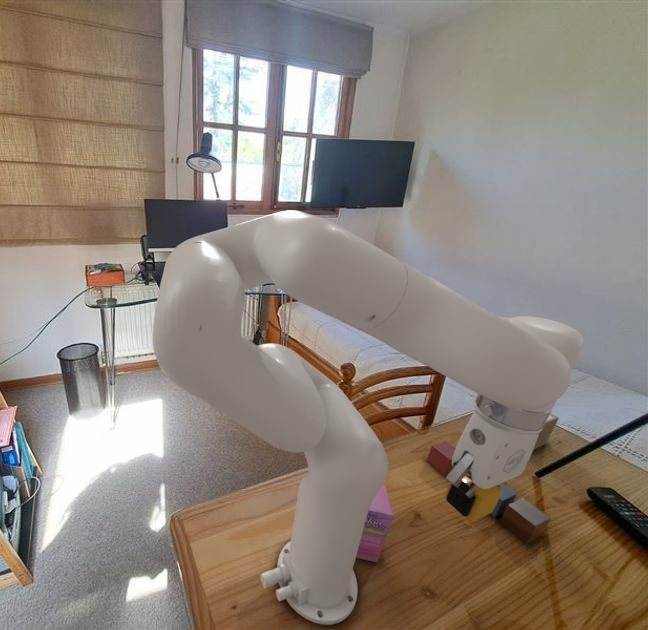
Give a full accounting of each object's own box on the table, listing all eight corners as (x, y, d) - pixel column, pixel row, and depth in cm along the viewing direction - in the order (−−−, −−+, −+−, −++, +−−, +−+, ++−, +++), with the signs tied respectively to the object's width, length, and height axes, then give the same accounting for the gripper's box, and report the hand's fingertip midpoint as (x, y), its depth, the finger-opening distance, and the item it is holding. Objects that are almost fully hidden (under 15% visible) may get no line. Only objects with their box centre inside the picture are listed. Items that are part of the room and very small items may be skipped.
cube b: (494, 517, 66) (502, 500, 64) (471, 498, 70) (478, 481, 68) (509, 510, 68) (517, 493, 66) (486, 491, 72) (493, 475, 70)
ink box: (529, 434, 89) (542, 408, 86) (547, 444, 86) (560, 417, 83) (506, 444, 85) (518, 417, 82) (523, 455, 82) (536, 427, 79)
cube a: (526, 544, 61) (535, 526, 60) (499, 521, 65) (507, 504, 64) (541, 535, 63) (550, 518, 61) (514, 514, 67) (522, 497, 65)
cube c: (444, 475, 75) (450, 460, 74) (426, 460, 79) (431, 445, 78) (458, 470, 77) (464, 454, 75) (440, 455, 81) (445, 440, 79)
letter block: (472, 521, 50) (482, 499, 48) (444, 496, 54) (452, 474, 52) (492, 512, 51) (503, 490, 50) (463, 488, 55) (472, 466, 54)
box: (379, 563, 57) (394, 515, 53) (344, 556, 58) (356, 507, 54) (368, 509, 67) (380, 464, 62) (338, 503, 68) (348, 458, 63)
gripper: (499, 439, 40) (453, 544, 46) (580, 410, 46) (528, 507, 52) (441, 402, 46) (408, 498, 53) (518, 381, 52) (480, 470, 59)
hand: (468, 502), depth 52 cm, fingers closed on letter block, 4 cm apart
